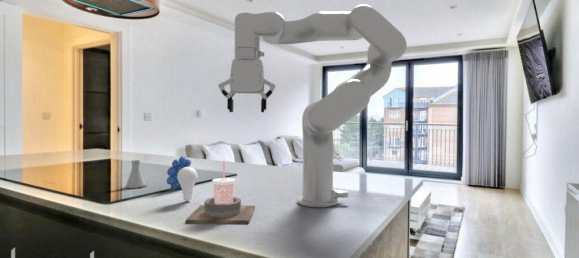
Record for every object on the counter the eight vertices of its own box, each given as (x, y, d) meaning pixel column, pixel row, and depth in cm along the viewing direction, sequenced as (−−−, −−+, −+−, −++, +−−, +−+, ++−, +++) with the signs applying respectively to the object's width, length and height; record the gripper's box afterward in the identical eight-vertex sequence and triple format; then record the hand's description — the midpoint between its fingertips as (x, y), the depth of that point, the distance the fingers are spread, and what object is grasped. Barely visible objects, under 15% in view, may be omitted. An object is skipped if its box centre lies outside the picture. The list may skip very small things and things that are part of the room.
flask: (127, 185, 131) (126, 159, 130) (147, 184, 133) (147, 159, 132) (123, 189, 124) (123, 162, 123) (145, 188, 126) (145, 161, 125)
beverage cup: (207, 212, 92) (207, 161, 92) (224, 207, 97) (224, 159, 97) (223, 216, 89) (223, 163, 88) (239, 211, 94) (239, 161, 93)
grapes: (183, 184, 132) (183, 154, 131) (196, 186, 129) (196, 155, 128) (158, 190, 122) (158, 157, 121) (172, 193, 118) (172, 158, 118)
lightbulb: (191, 204, 103) (191, 168, 103) (173, 203, 105) (173, 168, 104) (201, 199, 109) (200, 165, 109) (183, 198, 111) (183, 165, 110)
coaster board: (254, 208, 100) (254, 194, 100) (248, 223, 86) (248, 207, 86) (200, 207, 100) (200, 194, 100) (185, 222, 86) (185, 207, 86)
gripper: (276, 58, 107) (275, 112, 107) (221, 57, 107) (221, 112, 107) (275, 53, 99) (274, 112, 100) (215, 53, 99) (216, 111, 100)
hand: (247, 112), depth 104 cm, fingers open, 9 cm apart
